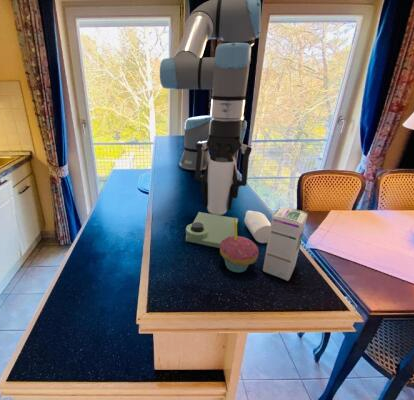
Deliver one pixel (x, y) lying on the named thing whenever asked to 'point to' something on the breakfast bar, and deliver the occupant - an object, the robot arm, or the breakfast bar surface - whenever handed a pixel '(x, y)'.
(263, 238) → the roll
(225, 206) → the drinking glass
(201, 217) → the scale
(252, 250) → the cupcake
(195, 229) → the button
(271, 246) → the syrup box
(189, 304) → the breakfast bar surface
